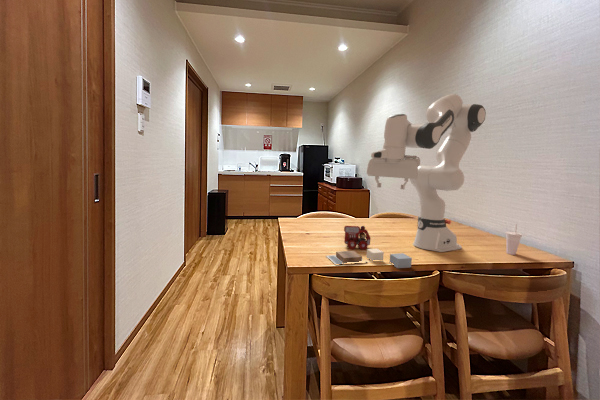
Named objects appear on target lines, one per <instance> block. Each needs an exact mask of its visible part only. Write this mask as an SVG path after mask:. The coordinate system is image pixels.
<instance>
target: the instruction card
mask: <svg viewBox="0 0 600 400" xmlns="http://www.w3.org/2000/svg"><path fill="white" fill-rule="evenodd" d="M325 258H326V259H328V260H329V259H330V260H331V261H332V262H333V263H334V265H335V264H342V263H343V262H342V261H341V260H340V259H339V258H337V257H336V254H332V255H325ZM330 260H329V261H330ZM331 261H330V262H331ZM332 262H331V263H332ZM333 263H332V264H333ZM343 264H344V263H343Z"/></svg>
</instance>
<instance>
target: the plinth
mask: <svg viewBox="0 0 600 400" xmlns="http://www.w3.org/2000/svg"><path fill="white" fill-rule="evenodd" d="M335 255H336V257H337V258H339V259H340V260H341V261H342V262H343V263H347V262H359V261H362V259H363V257H362V256H361V255H360V254H359V253H358V252H356V251H355V250H346V251H345V250H342V251H341V250H340V251H336V252H335Z"/></svg>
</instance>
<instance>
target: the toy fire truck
mask: <svg viewBox="0 0 600 400" xmlns="http://www.w3.org/2000/svg"><path fill="white" fill-rule="evenodd" d="M343 228H344V229H343V231H344V241H343V242H344V244H345V245H347V247H348V249H350V250H354V249H356V248H357V246H358V248H359V249H360V250H363V251H364V250H365V251H366V250H367V249H368V246H370V245H371V236H370V234H369V232H368V230H367V229H366V227H365V225H361V226H359V225H345V226H344V227H343Z"/></svg>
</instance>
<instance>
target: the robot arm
mask: <svg viewBox="0 0 600 400" xmlns="http://www.w3.org/2000/svg"><path fill="white" fill-rule="evenodd" d="M486 116H487V115H486V108H485V107H484V106H483V105H481V104H477V103H473V104H469V103H468V104H464V103H463V99H462V98H461V96H459V95H458V94H456V93H451V94H447V95H444V96H442V97H440V98H438V99H437V100H435V101H433V102H432V103H431V104H430V105H429V107H427V109H426V115H425V117H426V120H427V122H425V123H411V122H410V121H409V120H408V115H407V114H405V113H399V114H391V115H389V116H387V118H386V120H385V121H386V122H385V125H384V131H383V133H384V135H383V138H384V143H383V145H382V150H378V151H374V152H372V153H371V156H370V157H371V158H370V159H369V160H368V162H367V163H368V164H367V168H366V175H367V176H369V177H375V178H374V179H375V182H376V183H377V184H376V187H377V188H378V189H379V188H382V182H380V180H379V179H380V177H382V178H384V177H385V178H395V179H396V178H398V179H403V180H404V183H403V184H401V185H400V190H405V188H406V185H407V184H408V182H409V181H410V183H411V184H412V186H413V187H414V188H415V189H416V192H417V194H418V197H419V214H418V217H417V230H416V234H415V238H414V240H413V242H412V245H413V246H414V247H417V248H419V249H422V250H426V251H427V250H428V251H434V252H439V253H444V252H450V251H457V250H462V249H463V248H462V245H460V244H458V239H457V235H456V234H455V232H453V231H452V230H451V229H450V228H448V226H447V224H448V225H451V223H452V220H451V219H445V212H446V211H445V210H446V202H445V200H444V199H442V198H441V197H440V196H439V194H438V192H437V191H438V190H439V191H446V192H449V191H452V192H453V191H458V190H459V189H460V188H462V187H463V185H464V182H465V175H464V173H463V171H462V170H461V169H460V163H461V160H462V158H463V156H464V155H465V153H466V151H467V150H468V147H469V146H470V142H471V140H472V133H474V132H476V131H477V130H478V129H479V127H481V126H482V124H484V121H485V120H486ZM449 129H451V131H450V133H449V134H448V135H447V136H446V137H445V139H444V141H443V142H442V143H441V145H440V147H439V148H438V150H437V152H436V155H435V158H436V161H437V162H438V163H439V164H438V165H431V164H430V165H428V164H423V165H421V158H420V157H418V156H417V155H406V150H407V149H406V148H411V149H413V148H414V149H418V148H419V149H428V150H430V149H434V148H435V147H436V146H437V145H438V144H439V142H440V141H441V138H442V136H443V135H444V134H445V133H446V132H447V131H448V130H449Z"/></svg>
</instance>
